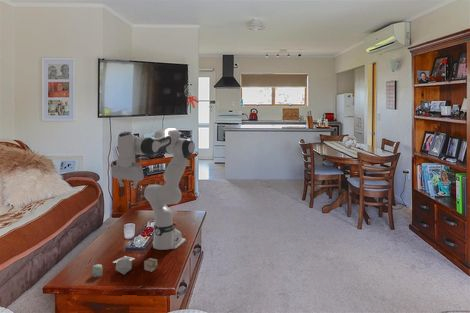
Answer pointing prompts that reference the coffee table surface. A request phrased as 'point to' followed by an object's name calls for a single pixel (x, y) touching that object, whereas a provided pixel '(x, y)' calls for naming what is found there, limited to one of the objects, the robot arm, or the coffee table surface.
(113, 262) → the plan card
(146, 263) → the birch block
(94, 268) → the pale green rounded lump
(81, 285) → the coffee table surface
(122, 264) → the die
